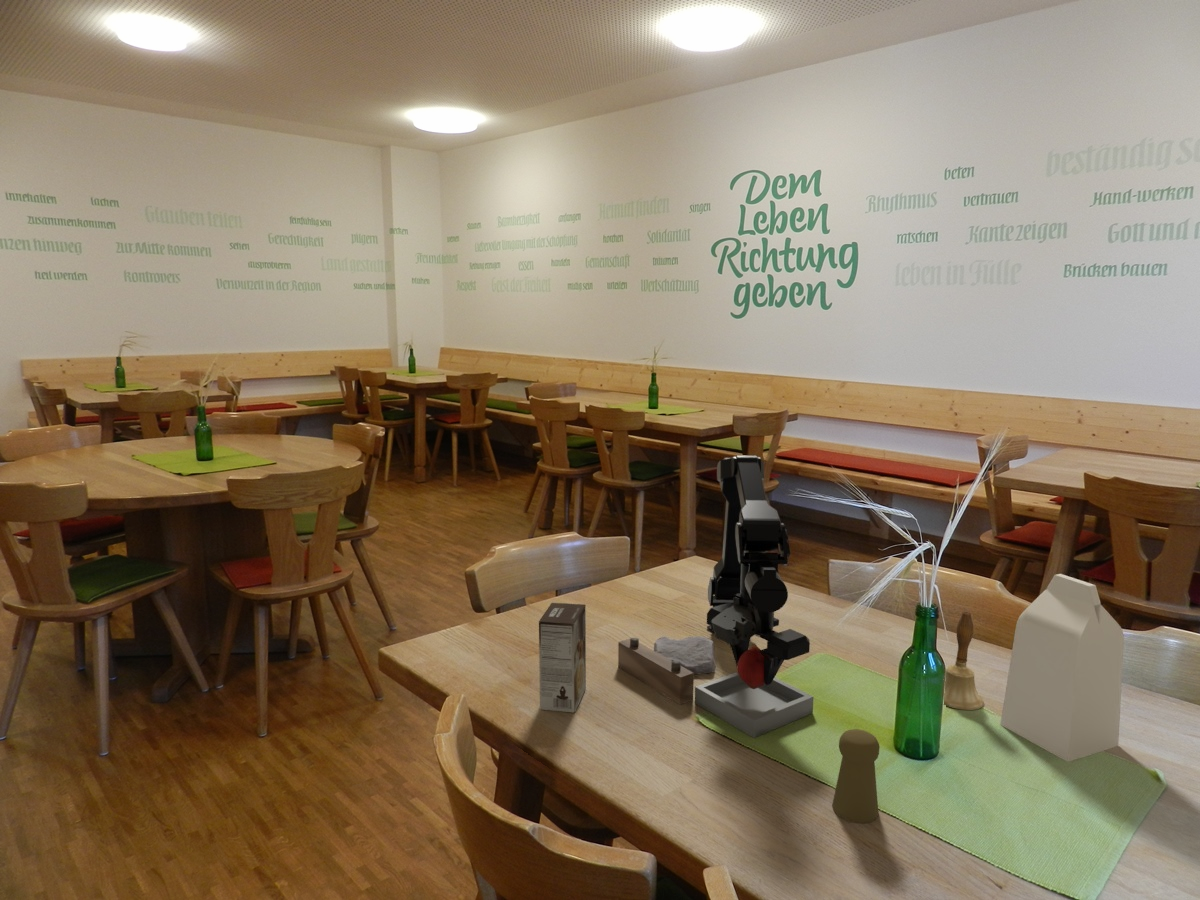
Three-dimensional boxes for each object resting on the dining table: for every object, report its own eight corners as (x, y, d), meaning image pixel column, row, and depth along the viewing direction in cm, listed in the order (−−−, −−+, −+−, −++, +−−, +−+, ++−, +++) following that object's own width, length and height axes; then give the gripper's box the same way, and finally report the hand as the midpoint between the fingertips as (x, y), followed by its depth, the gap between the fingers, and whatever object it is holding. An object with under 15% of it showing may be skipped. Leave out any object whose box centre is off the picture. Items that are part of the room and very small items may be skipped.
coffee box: (551, 685, 145) (551, 601, 142) (586, 688, 144) (586, 603, 141) (538, 710, 136) (537, 620, 133) (575, 713, 135) (575, 623, 132)
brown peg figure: (825, 797, 112) (829, 724, 110) (867, 795, 112) (872, 722, 111) (841, 824, 106) (846, 747, 104) (886, 821, 106) (891, 745, 105)
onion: (773, 683, 138) (775, 640, 137) (768, 698, 133) (770, 653, 131) (739, 678, 140) (741, 635, 139) (733, 693, 135) (735, 648, 133)
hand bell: (959, 685, 146) (967, 601, 143) (994, 706, 138) (1003, 618, 135) (921, 691, 143) (928, 606, 140) (955, 713, 135) (963, 624, 133)
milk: (1000, 724, 132) (1014, 573, 127) (1049, 711, 136) (1064, 564, 132) (1067, 761, 121) (1086, 597, 116) (1118, 745, 125) (1137, 587, 121)
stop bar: (630, 662, 154) (631, 632, 153) (693, 699, 140) (693, 666, 139) (618, 666, 153) (618, 635, 151) (679, 704, 138) (680, 670, 137)
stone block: (717, 683, 150) (713, 651, 159) (718, 662, 148) (713, 631, 158) (654, 684, 151) (653, 652, 160) (653, 662, 149) (652, 631, 158)
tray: (752, 681, 146) (753, 666, 146) (812, 713, 135) (813, 696, 135) (694, 702, 139) (695, 686, 138) (753, 737, 127) (754, 720, 127)
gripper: (683, 583, 136) (681, 669, 139) (764, 618, 121) (760, 713, 124) (731, 571, 143) (728, 653, 145) (814, 602, 127) (809, 694, 130)
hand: (754, 677), depth 136 cm, fingers closed on onion, 6 cm apart
